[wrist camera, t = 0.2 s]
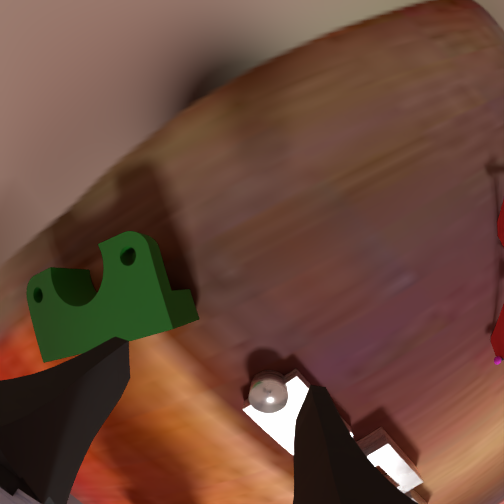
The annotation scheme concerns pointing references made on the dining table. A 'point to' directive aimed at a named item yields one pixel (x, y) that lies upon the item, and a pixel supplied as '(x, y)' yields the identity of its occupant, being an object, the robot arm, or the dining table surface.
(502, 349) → the glasses
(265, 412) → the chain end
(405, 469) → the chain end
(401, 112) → the dining table surface
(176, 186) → the dining table surface
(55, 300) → the clamp
